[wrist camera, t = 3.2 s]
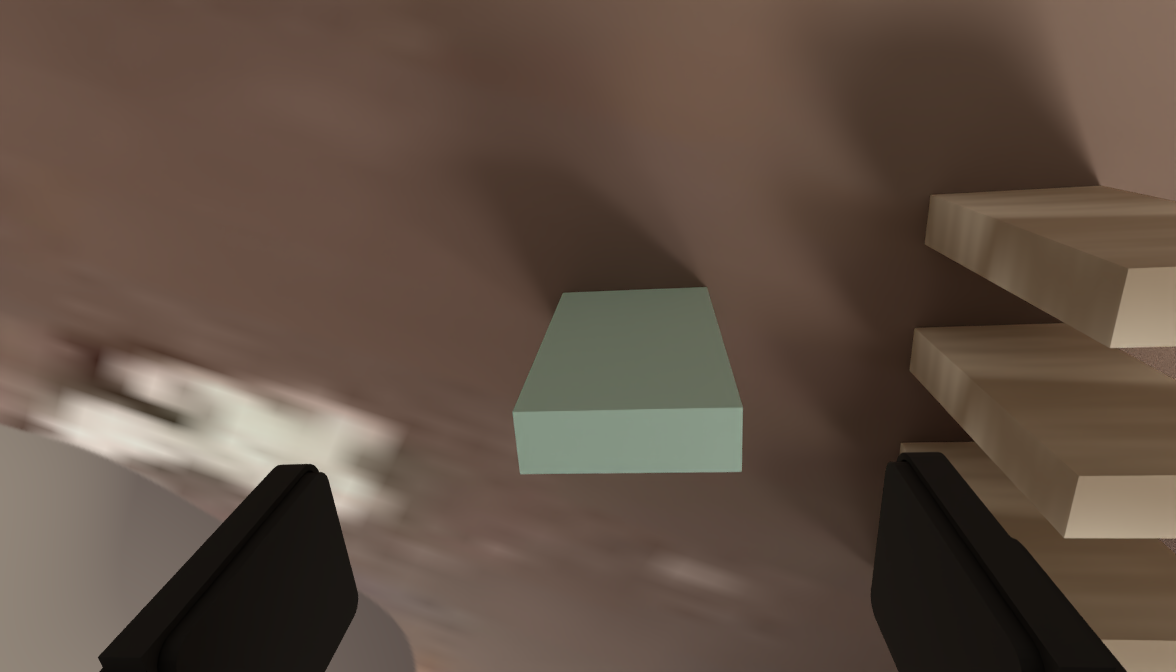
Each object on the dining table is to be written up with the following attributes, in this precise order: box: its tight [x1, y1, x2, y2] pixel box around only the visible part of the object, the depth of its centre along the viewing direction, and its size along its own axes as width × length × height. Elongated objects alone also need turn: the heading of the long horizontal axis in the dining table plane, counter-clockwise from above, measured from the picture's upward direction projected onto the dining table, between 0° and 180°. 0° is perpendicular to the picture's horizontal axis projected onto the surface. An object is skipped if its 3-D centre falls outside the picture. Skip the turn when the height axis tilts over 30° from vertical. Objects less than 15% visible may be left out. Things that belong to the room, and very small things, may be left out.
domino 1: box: [512, 287, 743, 474], centre depth 18 cm, size 2×5×9 cm, turn 94°
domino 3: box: [909, 323, 1176, 538], centre depth 18 cm, size 2×5×9 cm, turn 94°
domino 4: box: [899, 442, 1176, 672], centre depth 19 cm, size 2×5×9 cm, turn 94°
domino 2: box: [925, 186, 1176, 348], centre depth 16 cm, size 2×5×9 cm, turn 94°
